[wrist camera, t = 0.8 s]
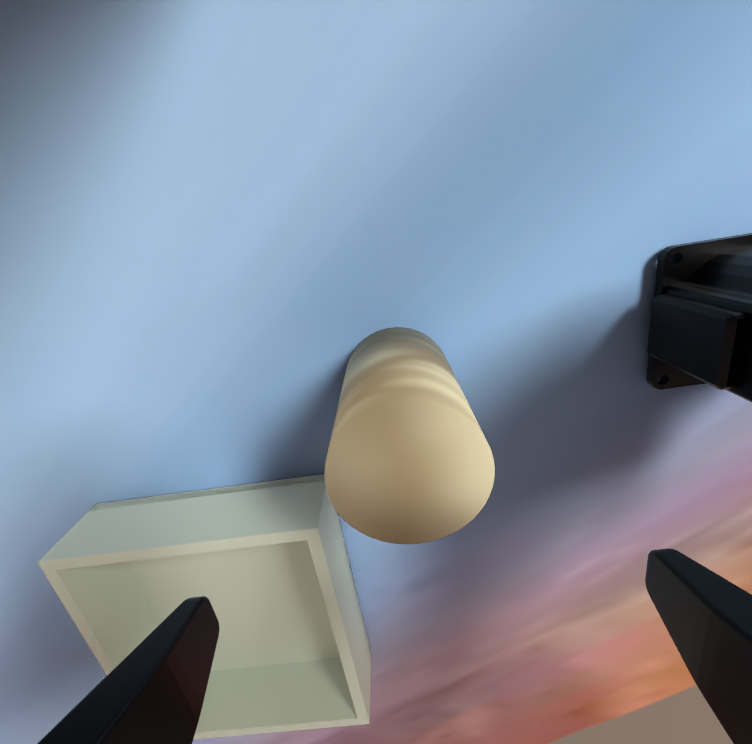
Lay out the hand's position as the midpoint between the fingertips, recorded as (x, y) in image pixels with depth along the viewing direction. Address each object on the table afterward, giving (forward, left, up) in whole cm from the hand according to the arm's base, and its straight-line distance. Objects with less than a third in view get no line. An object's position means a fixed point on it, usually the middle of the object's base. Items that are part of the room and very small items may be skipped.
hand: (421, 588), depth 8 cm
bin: (+11, +12, -12) cm, 20 cm away
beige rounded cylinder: (0, 0, -12) cm, 12 cm away
